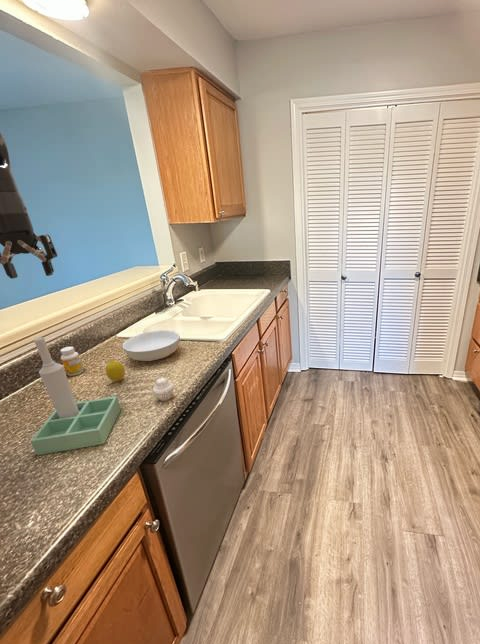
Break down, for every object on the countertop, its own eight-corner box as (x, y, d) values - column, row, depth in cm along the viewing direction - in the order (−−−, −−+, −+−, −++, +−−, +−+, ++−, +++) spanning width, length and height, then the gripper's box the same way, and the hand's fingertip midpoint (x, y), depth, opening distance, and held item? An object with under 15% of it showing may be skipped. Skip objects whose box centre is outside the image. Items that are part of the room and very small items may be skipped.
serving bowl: (148, 372, 116) (144, 355, 114) (116, 360, 127) (111, 344, 124) (193, 350, 132) (190, 334, 130) (161, 341, 143) (157, 326, 140)
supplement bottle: (65, 372, 120) (56, 349, 116) (82, 367, 123) (74, 344, 119) (68, 377, 116) (59, 353, 112) (85, 372, 119) (77, 348, 115)
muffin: (179, 396, 101) (175, 377, 98) (161, 406, 97) (156, 386, 94) (169, 390, 105) (165, 371, 102) (151, 399, 100) (146, 379, 98)
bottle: (60, 429, 87) (24, 345, 77) (61, 419, 91) (27, 338, 81) (82, 422, 89) (50, 339, 80) (82, 412, 93) (52, 333, 84)
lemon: (108, 387, 108) (101, 366, 105) (110, 379, 113) (103, 359, 110) (127, 382, 110) (120, 362, 107) (127, 375, 115) (121, 355, 112)
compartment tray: (36, 455, 80) (29, 441, 78) (64, 418, 94) (58, 405, 92) (104, 443, 82) (99, 429, 81) (121, 409, 96) (117, 396, 95)
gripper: (-37, 214, 76) (-7, 282, 82) (31, 210, 78) (54, 277, 84) (-15, 213, 82) (11, 276, 89) (47, 210, 85) (67, 271, 91)
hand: (32, 276), depth 87 cm, fingers open, 8 cm apart
